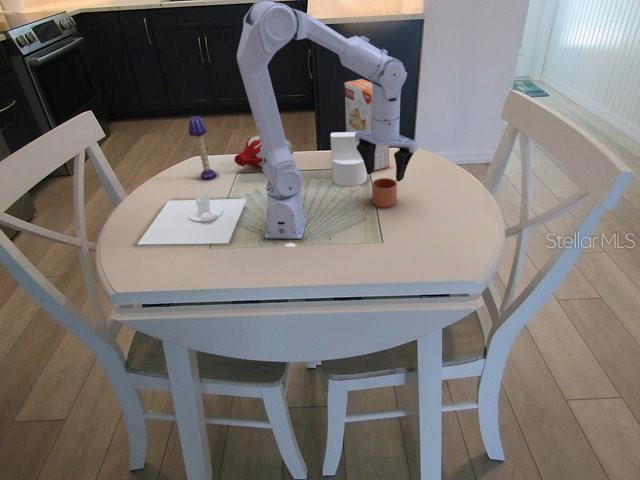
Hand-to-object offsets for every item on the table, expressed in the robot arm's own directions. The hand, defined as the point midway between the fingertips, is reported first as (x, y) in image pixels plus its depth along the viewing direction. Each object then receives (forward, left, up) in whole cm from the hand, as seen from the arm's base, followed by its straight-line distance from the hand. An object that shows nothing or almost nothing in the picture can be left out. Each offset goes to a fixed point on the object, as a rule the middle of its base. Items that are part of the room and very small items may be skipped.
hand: (384, 176), depth 104 cm
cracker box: (+24, +5, -7) cm, 26 cm away
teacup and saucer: (-9, +43, -7) cm, 45 cm away
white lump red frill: (+21, +34, -7) cm, 41 cm away
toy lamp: (+14, +48, -7) cm, 51 cm away
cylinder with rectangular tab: (+13, +9, -7) cm, 17 cm away
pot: (0, 0, -7) cm, 7 cm away
